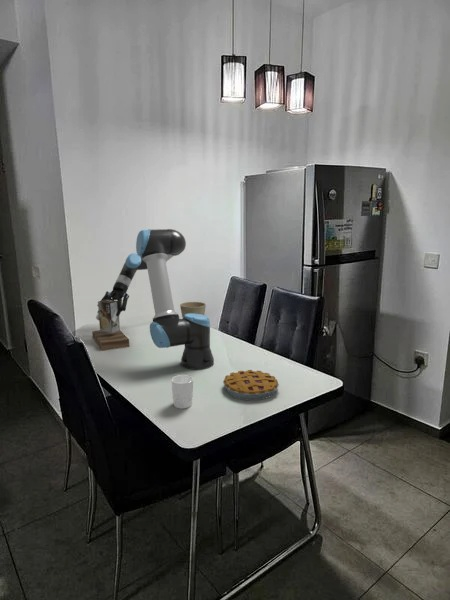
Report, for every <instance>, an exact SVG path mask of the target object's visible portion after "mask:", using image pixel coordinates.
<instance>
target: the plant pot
mask: <svg viewBox="0 0 450 600" xmlns="http://www.w3.org/2000/svg"><path fill="white" fill-rule="evenodd" d="M206 305H207V304H206V303H205V302H202V301H201V302H200V301H186V302H182V303H180V304H179V307H180V308H179V309H180V312H181V317H182V319H183V318H184V315H185V314H189V313H193V314H201V315H205V312H206Z"/></svg>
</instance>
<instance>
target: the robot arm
mask: <svg viewBox="0 0 450 600" xmlns="http://www.w3.org/2000/svg"><path fill="white" fill-rule="evenodd" d="M186 244H187V241H186V239H185V237H184V235H183V234H182V232H180V231H178V230H176V229H173V228H168V229H167V228H166V229H160V228H159V229H151V228H150V229H142V230H140V231H139V232H138V233H137V237H136V241H135V248H136V249H135V250H136V251H135V252H136V253H134V252H133V253H130V254H129V255H128V256H127V257H126V259H125V262H124V264H123V265H122V268H121V270H120V272H119V275H118V276H117V279H116V280H115V283H114V285H113V287H112V290H111V291H110V292H109V291H105V294H104V296H102V298H101V300H105V299H107V300H114V301H118V308H117V309H116V311H115V313H114V315H113V317H112V319H111V320H112V321H113V322H115V321H116V319H117V317H119V318H120V315H121V312H125V311H127V310H126V308H127V304H128V300H129V298H130V295H129V294H128V293H127V292H128V290H129V287H130V286H131V284H132V283H131V282H132V281H133V279H134V277H135V275H136V273H137V271H143V270H147V273H148V280H149V284H150V290H151V291H150V292H151V297H152V304H153V309H154V313H155V314H154V316H153V317H152V322H151V323H149V324H150V325H149V333H150V338H151V339H152V341H153V344H154V345H155V346H156V347H157V348H159V349H163V348H166V349H168V348H170V347H178V346H183V345H184V349H183V351H182V355H181V359H180V365H181V366H182V367H184V369H185V368H186V369H189V370H190V369H191V370H204V369H208V368H211V367H213V365H214V364H215V360H214V355H213V353H212V349H211V323H210V322H211V320H210V318H209V317H208V316H207V315H205V314H204V315H201V314H193V313H189V314H185V315H184V318H183V317H182V318H180V316H179V315H180V314H179V313H178V312H176V310H175V306H174V301H173V294H172V290H171V283H170V278H169V273H168V267H167V263H168V261H170V260H171V259H172V258H173V257H174V256H175V257H176V256H180V254H182V253H183V252H184V251H185V250H186V246H187V245H186ZM96 306H97V307H98V304H97V305H96ZM95 319H96V320H97V321H99V310H97V314H96V316H95Z"/></svg>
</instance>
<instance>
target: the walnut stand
mask: <svg viewBox="0 0 450 600" xmlns="http://www.w3.org/2000/svg"><path fill="white" fill-rule="evenodd" d="M91 333H92V335H91V336H92V339H93V341H94V342H95V343H96V345H97V346H98V347H99V349H100V350H101V351H102V352H103V351H109V350H116V349H123V348H129V347H130V339H129V337H128V336H127V335H126V334H124V333H123V331H122V330H121V329H120V330H119V331H116V332H113V333H111V332H105V331H100V329H97V330H92V332H91Z"/></svg>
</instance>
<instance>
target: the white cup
mask: <svg viewBox="0 0 450 600" xmlns="http://www.w3.org/2000/svg"><path fill="white" fill-rule="evenodd" d="M171 391H172V393H171V394H172V400H173V402H172V403H173V407H175V408H177V409H180V410H181V409H183V410H184V409H188V408H190V407H191V406H192V405H193V394H194V377H193V376H191V375H189V374H178V375H174V376H173V377H172V378H171Z"/></svg>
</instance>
